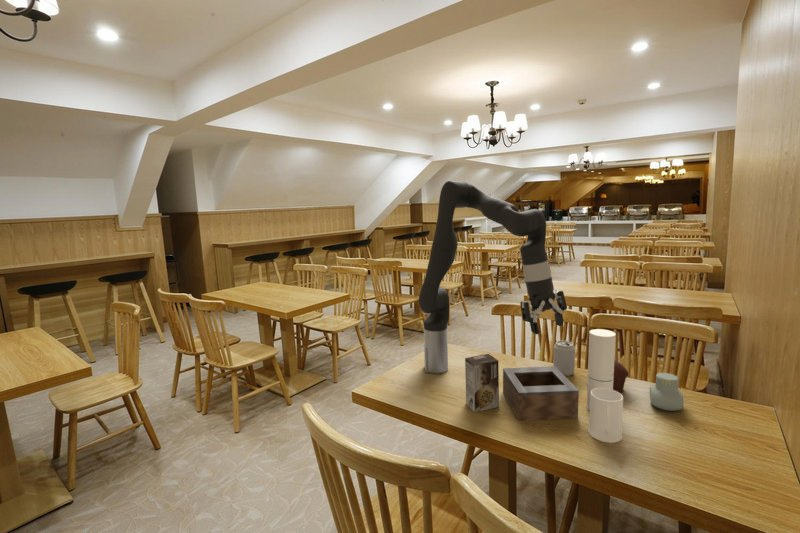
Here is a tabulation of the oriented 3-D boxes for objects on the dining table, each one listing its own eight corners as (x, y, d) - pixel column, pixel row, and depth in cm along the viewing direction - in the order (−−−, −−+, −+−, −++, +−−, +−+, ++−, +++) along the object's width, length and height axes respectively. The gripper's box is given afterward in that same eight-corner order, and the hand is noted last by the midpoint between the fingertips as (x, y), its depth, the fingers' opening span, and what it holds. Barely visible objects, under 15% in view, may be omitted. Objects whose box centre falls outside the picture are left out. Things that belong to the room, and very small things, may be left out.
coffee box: (489, 398, 135) (489, 353, 133) (499, 407, 129) (499, 360, 126) (465, 403, 132) (464, 357, 130) (474, 412, 126) (473, 364, 124)
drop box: (518, 420, 121) (518, 392, 119) (503, 392, 139) (503, 368, 137) (577, 418, 121) (578, 390, 119) (554, 390, 139) (555, 366, 137)
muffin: (583, 384, 142) (584, 358, 141) (607, 378, 146) (608, 352, 144) (611, 399, 131) (612, 370, 130) (635, 392, 135) (637, 364, 133)
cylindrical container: (614, 407, 126) (618, 332, 122) (607, 417, 121) (611, 338, 117) (590, 400, 131) (593, 327, 127) (583, 409, 126) (586, 333, 122)
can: (577, 376, 149) (578, 346, 147) (557, 377, 149) (558, 346, 147) (569, 368, 156) (570, 339, 154) (550, 369, 156) (551, 339, 154)
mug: (622, 453, 104) (624, 410, 102) (586, 444, 108) (588, 403, 106) (621, 429, 114) (623, 390, 112) (588, 423, 118) (590, 385, 116)
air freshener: (648, 396, 133) (650, 367, 131) (678, 401, 129) (680, 371, 127) (651, 411, 123) (653, 381, 122) (683, 417, 119) (686, 386, 118)
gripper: (549, 271, 124) (559, 321, 125) (510, 282, 119) (520, 334, 121) (566, 271, 116) (576, 325, 118) (525, 284, 112) (536, 338, 114)
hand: (548, 329), depth 119 cm, fingers open, 8 cm apart
